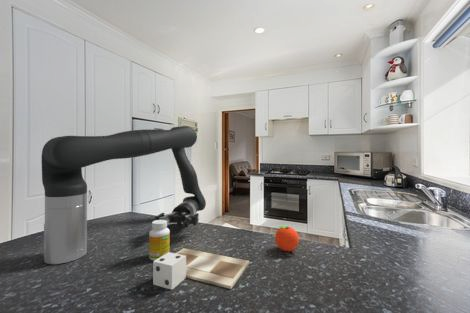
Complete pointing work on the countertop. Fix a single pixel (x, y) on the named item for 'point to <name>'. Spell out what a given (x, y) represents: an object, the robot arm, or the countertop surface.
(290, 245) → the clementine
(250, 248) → the countertop surface
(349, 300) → the countertop surface
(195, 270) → the board
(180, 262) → the die
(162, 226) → the supplement bottle
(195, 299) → the countertop surface
